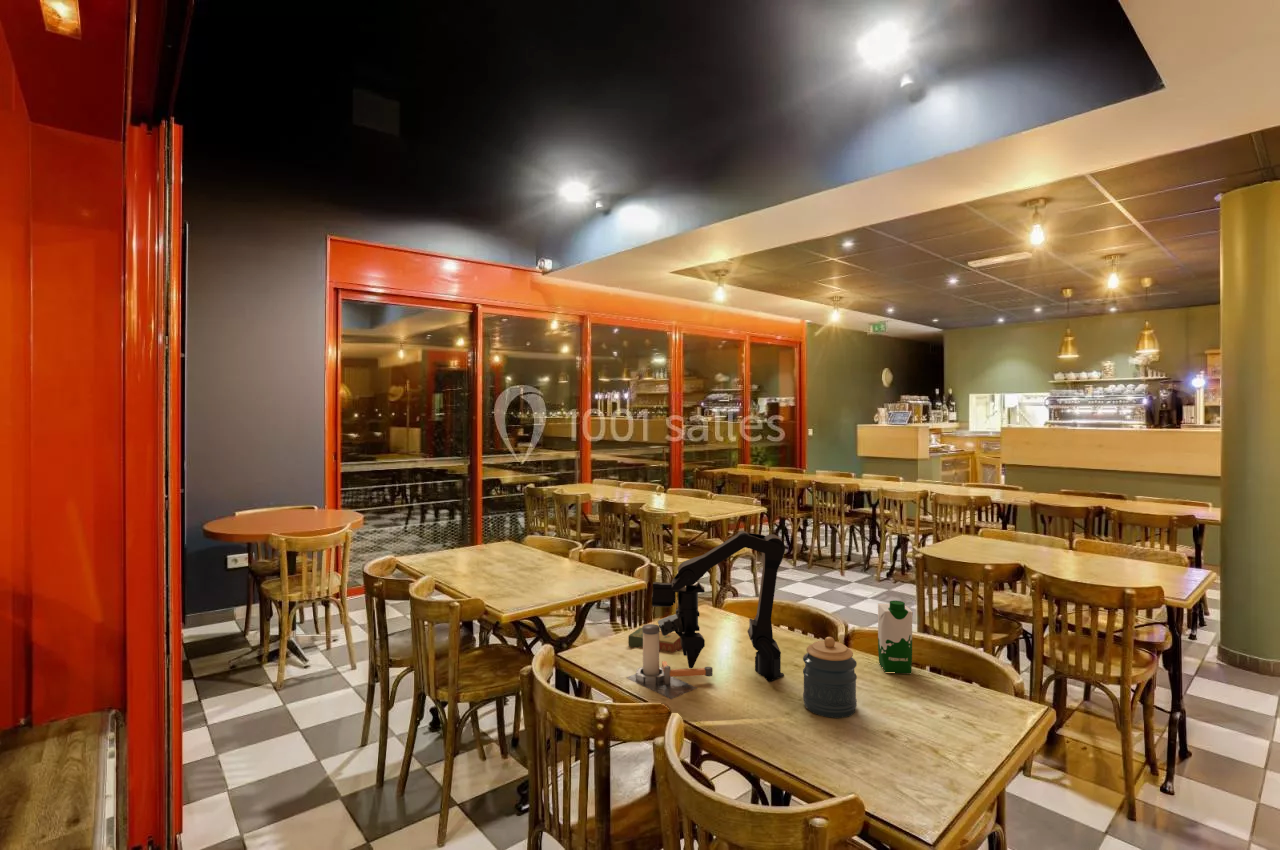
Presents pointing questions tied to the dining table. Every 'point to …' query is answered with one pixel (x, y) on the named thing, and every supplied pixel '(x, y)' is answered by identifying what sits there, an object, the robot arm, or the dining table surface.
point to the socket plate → (661, 683)
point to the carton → (665, 642)
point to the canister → (829, 679)
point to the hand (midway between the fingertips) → (688, 661)
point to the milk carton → (895, 637)
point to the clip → (684, 672)
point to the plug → (650, 649)
